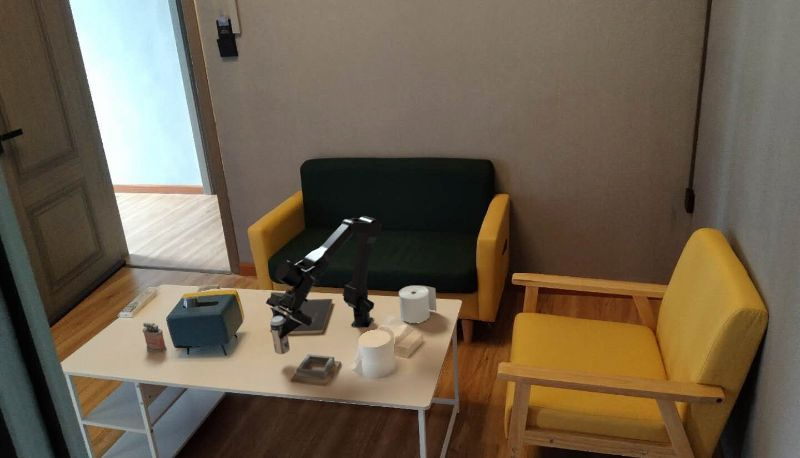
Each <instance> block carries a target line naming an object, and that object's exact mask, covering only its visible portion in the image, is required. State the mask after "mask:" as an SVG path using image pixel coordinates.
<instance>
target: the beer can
mask: <svg viewBox="0 0 800 458" xmlns="http://www.w3.org/2000/svg"><path fill="white" fill-rule="evenodd" d="M269 324H270V330H271V331H272V333H271V337H272V342H273V348H274V353H275V354H277V355H285V354H287V353H289V351H290V349H291V348H290V342H289V341H290V340H289V336H288V335H289V334H287V335H286V336H285V337H283V338H282V339H281V338H279V336H280V333H281V331H282V329H283V327H284V325H285V319H284V318H283V317H282V316H275V317H273V316H272V318H271V319H270V321H269Z"/></svg>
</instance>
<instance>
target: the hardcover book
mask: <svg viewBox="0 0 800 458" xmlns="http://www.w3.org/2000/svg"><path fill="white" fill-rule="evenodd" d="M332 303H333V298H319V299H318V298H317V299H308V301H307V302H305V301H304V303H303V305H302V307H301V309H300V310H301V311H302V313H304V314H306V315H308V316H310V317H311V318H312V323H311V325H310V326H308V325H306V324H304V323H302V324H303V325H300V326H299V327H297V328H296V329H294V330H293V331H291V332H290V333H289V334H288V335H303V334H306V335H307V334H308V335H309V334H323V331H324V328H325V326H326V323H327V319H328V316H329V313H330V311H331V307H332V305H333V304H332ZM291 312H292V311H291ZM285 315H287V316H288V317H290V316H292V315H290V314H288V313H285ZM285 323H286V318H285Z"/></svg>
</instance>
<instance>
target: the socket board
mask: <svg viewBox="0 0 800 458" xmlns="http://www.w3.org/2000/svg"><path fill="white" fill-rule="evenodd" d="M341 365H342V361H337V360H335V357H334V356H329V355H321V354H319V355H318V354H309V353H308V354H306V356H305V357H304V359H303V360H302V361H301V363H300V364H299V365H298V367H297V368H296V370H295V372H294V374H293V375H292V376H291V378H290V383H297V384H306V385H315V386H321V387H322V386H325V387H328V385H329V383H330V382H331V381H332V379H333V377H334V376H335V374H336V373H337V371H338V370H339V368H340V366H341Z"/></svg>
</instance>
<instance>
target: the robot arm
mask: <svg viewBox="0 0 800 458" xmlns="http://www.w3.org/2000/svg"><path fill="white" fill-rule="evenodd" d="M381 231H382V223H381V222H380V220H379V219H376V218H373V217H369V216H367V215H363V216H361V217H357V218H356V217H353V218H346V219H344V220H342V222H341V225H339V227H338V228H337V229H336V230H335V231H334V232H333V233H332V234H331V235H330V236H329V237H328V238H327V240H326V241H325V242H324V243H323V244H322V245H321V246H320V247H319V248H316V249H315V250H312V251H311V252H310V253H308V254H307V255H306V256H304V258H303V259H302V260H300V261H298V262H296V263H293V262H292V261H290V260H288V259H287V260H286V261H285V263H282V264H280V265H279V266H278V267H277V268H276V270H275V274H274V275H275V279H276V280H278V281H279V282H281V283H283V284H285V285H287V286H288V287H291V288H290V289H289V288H288V289H286V290H285V291H284V292H277V291H276V292H275V291H272V292H271V293H270V297H268V298H267V300H266V302H265V304H266V305H268V306H270V310H271V311H272V318H273V317H275V316H282V317H283V318H284V319H285V318H286V323H285V325H284V327H283V329H282V331H281V333H280V336H279V338H281V339H282V338H283V337H285V336H286V335H290V334H289V333H290V332H291V331H293V330H294V329H296V328H297V327H299V326H300V325H303V324H302V323H304V324H306V325H308V326H310V325H311V323H312V318H311V317H310V316H308V315H306V314H304V313H302V311H301V310H300V309H301V307H302V305H303V303H304V301H305V302H307V301H308V300H309V298H307V297H308V296H309V294H310V292H311V290H312V288H313V287H314V285H315V286H320V280H319V277H320V276H322V275H324V273H325V272H326V270H327V269H328V267H330V264H331V259H332V258H333V256H334V255H335V254H336V253H337V252H338V251H339V249H340V248H341V247H342V246H343V245H344V244H345V243H346V242H347V241H348V240H349V239H350V237H352V236H353V234H354V233H356V236H357V239H358V243H357V249H356V255H355V259H354V260H355V261H354V266H353V271H352V277H351V281H350V282H349V283H348V284H345V285H344V287H343V292H342V293H343V294H342V295H341V296H343V301H344V303H345V304H347V305H348V307H350V308H352V312H353V322H351V324H350V325H351V326H350V327H357V328H369V327H370V326H371V324H372V322H373V321H374V317H372V316H371V314H370V312H371V310H374V306H375V302H373V301H372V300H370V299H368V298H369V291H368V288H367V287H368V286H367V285H366V284H367V278H368V277H367V276H368V272H369V266H370V261H371V255H372V251H373V245H374V243H375V242H376V241H377V239H378V238H379V236H380V234H381ZM291 311H292V312H291ZM287 313H288V314H290V315H292V316H290V317H288V316H287V315H286V314H287ZM269 332H270V333H271V334H272V331H271V329H270V330H269Z"/></svg>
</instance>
